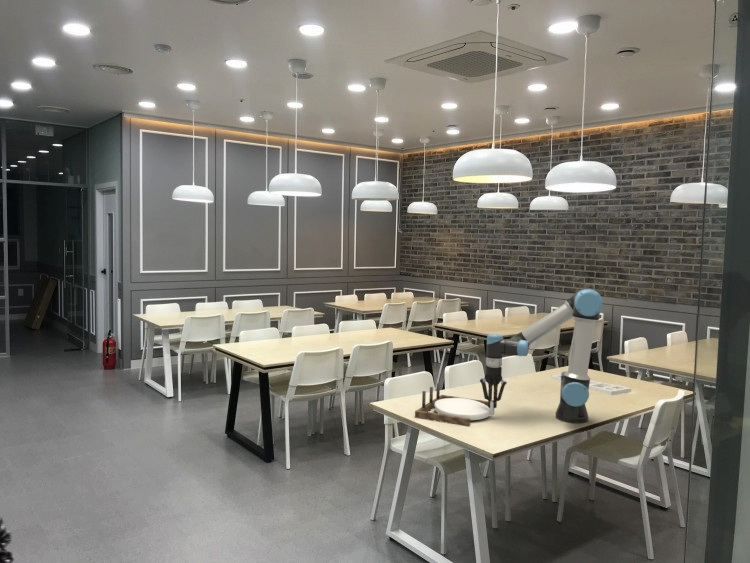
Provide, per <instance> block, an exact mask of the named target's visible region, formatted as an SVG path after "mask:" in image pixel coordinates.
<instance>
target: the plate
mask: <svg viewBox="0 0 750 563" xmlns="http://www.w3.org/2000/svg"><path fill="white" fill-rule="evenodd" d="M465 398H466V397H461V398H446V399H440V400H437V401H436V402H435V403H434V407H435V408H434V409H435V412H436V413H437V414H443V415H450V416H456V417H462V418H469V419H470V421H476V420H483V419H486V418H488V417H490V416H491V415H490V408H489V407H488V406H486V405H485V404H483V403H481V402H478V401H475V400H476V399H475V400H470V399H471V398H468V399H465Z"/></svg>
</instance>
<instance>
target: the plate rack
mask: <svg viewBox="0 0 750 563" xmlns="http://www.w3.org/2000/svg"><path fill="white" fill-rule="evenodd" d="M440 388H441V383H440V382H437V383H436V394H435V397H436V398H434V397H433V396H434V387H433V386H429V399H428V400H429V402H427V403H426V395H427V394H426V393H427V392H426V390H422V393H421V395H422V396H421V400H422V402H421V407H420V408H418V409H416V410H415V412H414V418H417V419H423V420H428V419H429V421H434V420H436V421H435V422H440V421H441V423H446V422H447V423H448V424H452V425H453V424H454V425H458V426H459V425H460V426H465V427H470V426H471V420H470V419H469V418H462V417H456V416H450V415H443V414H439V413H438V412H436V413H435V412H430V411H431V409H432V410H433V409H435V408H434V403H435V402H436V401H437V400H440V399H446V398H462V397H460V396H453V395H446V394H440V393H441V392H440V390H441V389H440ZM464 398H465V399H470V400H475V401H478V402H481V403H483V404H485V405H486V406H488V400H482V399H475V398H466V397H464ZM489 409H490V407H489ZM428 411H429V412H428ZM447 423H446V424H447Z"/></svg>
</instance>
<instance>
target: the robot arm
mask: <svg viewBox="0 0 750 563" xmlns="http://www.w3.org/2000/svg"><path fill="white" fill-rule="evenodd" d="M603 302H604V301H603V299H602V296H601V295H600V293H599V292H597V291H596V290H595V289H592V288H589V287H584V288H581V289H579V290H577V291H575V293H574V294H573V295H571V296H570V297H569V298H568V299H565V302H564V304H562V305H560V306H559V307H558V308H556V309H554V310H553V311H551V312H550V313H548V314H546V315H544V317H542V318H540V319H539V320H537V321H536V322H534V323H532V324H531V325H530V326H528V327H526V328H525V329H523V330H521V331H520V332H519V333H517V334H516V335H512V336H511V337H510V339H507V338H504V337H503V334H502V333H501V334H500V333H490V334H487V336H486V337H487V338H486V352H485V353H486V355H485V356H486V357H485V359H486V360H485V365H486V366H485V375H484V377H483V378H482V377H481V378H480V379H479V382H480V383H481V386H482V387H481V388H482V392H483V397H484V400H486V401H488V407H490V408H489V409H490V416H493V415H495V409H496V408H497V406H498V404H497V402H500V401H501V400H502V396H503V393H504V389H505V386H506V385H507V383H508V382H507V381H506V380H504V379H503V377H502V373H503V372H502V371H503V370H502V368H503V367H502V365H503V355H505V356H515V357H527V356H528V354H529V346H530V345H531V344H533V343H534V342H536V341H537V340H540V339H541V338H542V337H544V336H546V335H547V334H549V333H550V332H552V331H554V330H555V329H557V328H558V327H560V326H562V325H563V324H565V323H566V322H568V321H569V320H571V319H574V327H573V335H572V341H571V348H570V353H569V354H570V355H569V360H568V368H567V371H561V374H560V375H561V382H560V391H559V392H560V394H559V403H558V405H557V408H556V411H555V418H556V419H557V420H560V421H562V422H566V423H573V424H575V423H576V424H583V423H587V422H589V414H588V410H587V407H586V403H587V402H588V401H589V399H590V398H589V397H590V392H589V390H590V389H589V384H590V380H591V377H590V376H589V375H588V371H589V364H590V360H591V351H592V346H593V345H592V344H593V338H594V330H595V324H596V323H597V322H599V321H600V317H601V316H600V315H601V310H602V308H603ZM486 383H487V384H486ZM499 384H501V385H500V388H499V387H498V386H499ZM487 385H488V390H487ZM498 388H499V392H498Z"/></svg>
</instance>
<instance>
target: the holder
mask: <svg viewBox="0 0 750 563" xmlns="http://www.w3.org/2000/svg"><path fill="white" fill-rule="evenodd" d="M551 378H552V379H555V380H554V381H556V380H558V381H557V382H560V381H561V374H555V375H551ZM552 379H551V380H552ZM589 390H591V391H593V390H594V392H597V391H598V393H601V392H602V394H604V393H605V395H608V394H609V396H615V394H616V395H623V394H626V393H631V392H632V388H631V387H627V386H623V385H618V384H617V385H616V384H612V383H607V382H602V381H601V382H600V381H596V380H591V379H590V384H589Z"/></svg>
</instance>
